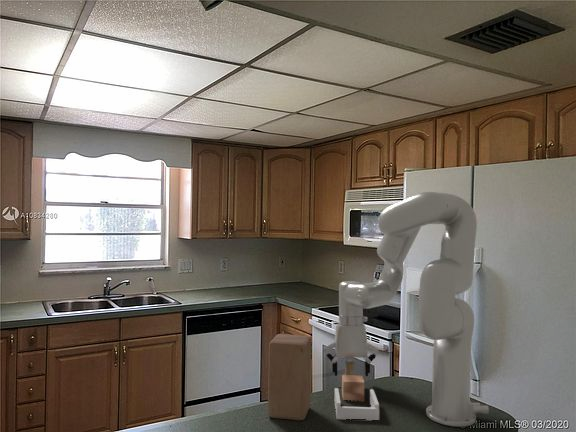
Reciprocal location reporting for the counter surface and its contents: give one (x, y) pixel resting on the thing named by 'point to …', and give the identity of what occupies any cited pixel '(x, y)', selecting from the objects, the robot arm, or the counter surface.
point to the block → (352, 384)
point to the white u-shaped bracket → (357, 409)
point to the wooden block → (289, 376)
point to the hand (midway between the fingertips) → (351, 374)
